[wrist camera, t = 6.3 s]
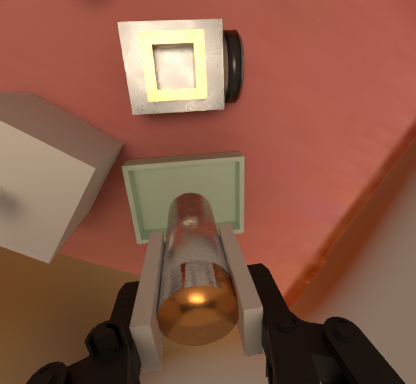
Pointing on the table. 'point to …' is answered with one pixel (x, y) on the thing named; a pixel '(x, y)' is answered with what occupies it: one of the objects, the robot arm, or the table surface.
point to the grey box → (47, 173)
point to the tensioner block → (181, 65)
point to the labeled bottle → (195, 276)
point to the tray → (184, 188)
